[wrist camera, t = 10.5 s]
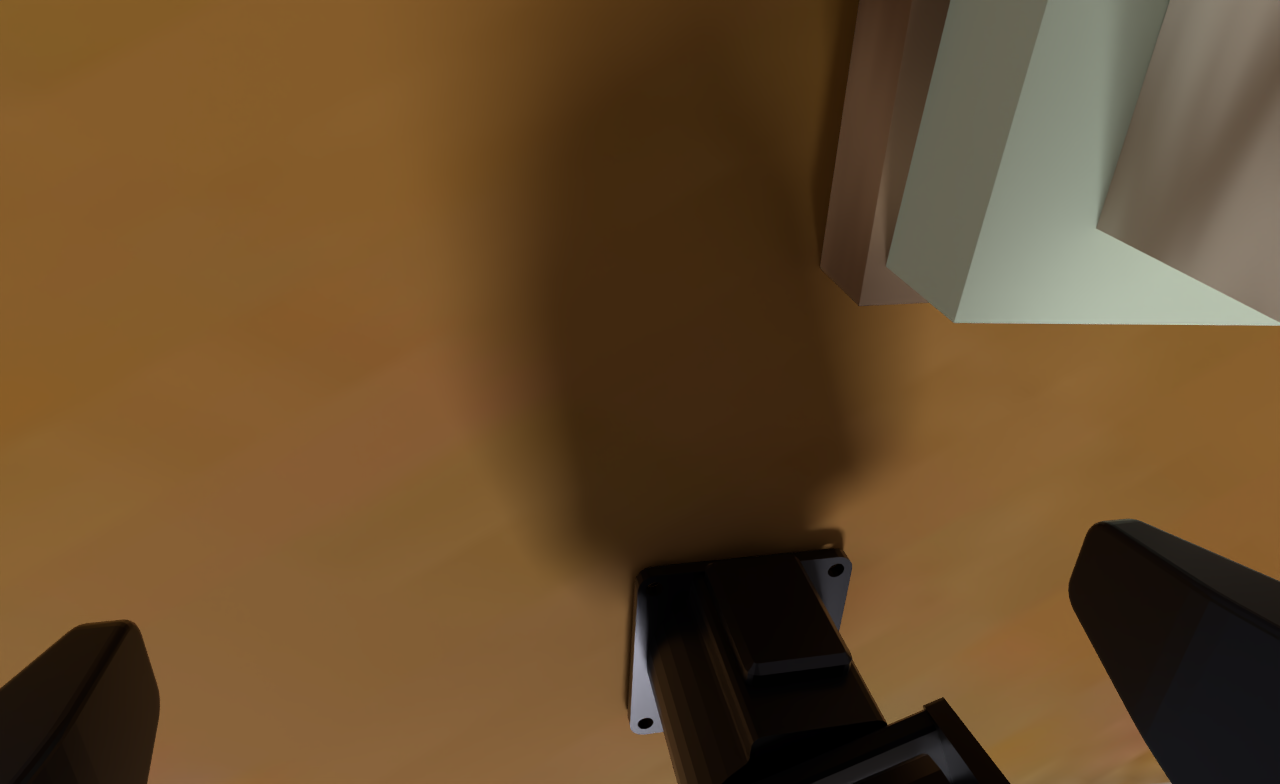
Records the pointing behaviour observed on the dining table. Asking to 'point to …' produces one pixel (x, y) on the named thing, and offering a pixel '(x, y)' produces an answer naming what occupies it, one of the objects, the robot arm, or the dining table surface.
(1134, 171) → the cream cube
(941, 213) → the sage slab
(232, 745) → the dining table surface
